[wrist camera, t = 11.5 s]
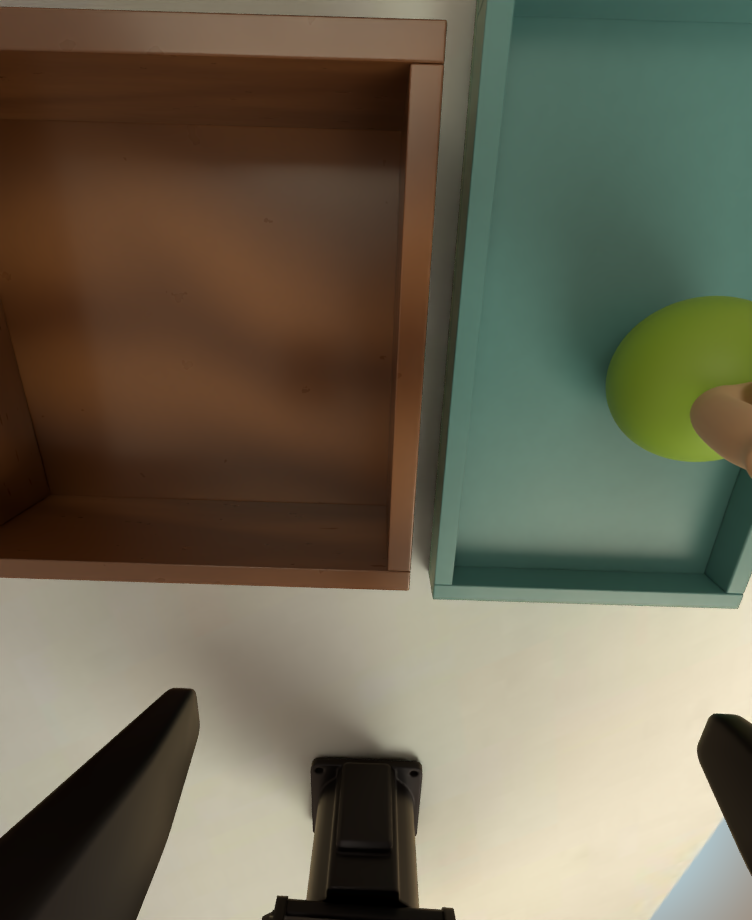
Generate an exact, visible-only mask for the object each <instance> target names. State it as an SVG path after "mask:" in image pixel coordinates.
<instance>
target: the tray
mask: <svg viewBox="0 0 752 920" xmlns="http://www.w3.org/2000/svg"><path fill="white" fill-rule="evenodd" d="M704 296H730V297H737V298H742V299H746V300H749V301H752V0H477V3H476V15H475V27H474V38H473V50H472V62H471V74H470V86H469V98H468V110H467V122H466V134H465V145H464V157H463V169H462V181H461V193H460V205H459V217H458V229H457V241H456V252H455V264H454V276H453V288H452V300H451V312H450V324H449V336H448V348H447V359H446V371H445V383H444V395H443V407H442V419H441V431H440V443H439V455H438V466H437V478H436V490H435V502H434V514H433V526H432V538H431V550H430V562H429V578H430V584H431V591H432V597H433V599H447V600H478V601H509V602H541V603H572V604H603V605H635V606H666V607H698V608H729V609H738V608H739V605H740V602H741V600H742V597H743V593H744V591H745V589H746V586H747V584H748V581H749V579H750V576H751V574H752V478H751V477H750V476H749V474H748V472H747V470H746V469H743V468H741V467H739V466H737V465H735V464H733V463H731V462H729V461H727V460H726V459H721V460H715V461H707V462H685V461H678V460H672V459H668V458H664V457H661V456H658V455H656V454H653V453H651V452H649V451H647V450H645V449H643V448H641V447H640V446H638V445H637V444H635V443H634V442H633V441H631V440H630V439H629V438H628V437H627V436H626V435H625V434H624V433H623V432H622V431H621V429H620V428H619V427H618V425H617V424H616V422H615V421H614V419H613V417H612V415H611V413H610V410H609V407H608V403H607V399H606V376H607V371H608V367H609V364H610V361H611V359H612V357H613V355H614V353H615V351H616V349H617V347H618V346H619V344H620V343H621V341H622V340H623V339H624V338H625V336H626V335H627V334H628V333H629V332H630V331H631V330H632V329H633V328H634V327H635V326H636V325H637V324H639V323H640V322H641V321H642V320H644V319H645V318H646V317H648V316H649V315H651V314H653V313H654V312H656V311H658V310H660V309H662V308H664V307H666V306H669V305H671V304H674V303H677V302H680V301H683V300H687V299H691V298H696V297H704Z"/></svg>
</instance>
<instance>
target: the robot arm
mask: <svg viewBox="0 0 752 920" xmlns="http://www.w3.org/2000/svg"><path fill="white" fill-rule="evenodd" d="M199 728H200V721H199V712H198V704H197V696H196V692H195V691H194V690H193V689H187V688H172V689H169V690H168V691H166V692H165V693H164V694H163V695H162V696H161V697H159V698H158V699H157V700H156V701H155V702H154V703H153V704H152V705H150V706H149V707H148V708H147V709H146V710H145V711H144V712H142V713H141V714H140V715H139V716H138V717H137V718H136V719H135V720H133V721H132V722H131V723H130V724H129V725H128V726H127V727H125V728H124V729H123V730H122V731H121V732H120V733H119V734H118V735H116V736H115V737H114V738H113V739H112V740H111V741H110V742H109V743H107V744H106V745H105V746H104V747H103V748H102V749H101V750H99V751H98V752H97V753H96V754H95V755H94V756H93V757H92V758H90V759H89V760H88V761H87V762H86V763H85V764H84V765H82V766H81V767H80V768H79V769H78V770H77V771H76V772H75V773H73V774H72V775H71V776H70V777H69V778H68V779H67V780H66V781H64V782H63V783H62V784H61V785H60V786H59V787H58V788H56V789H55V790H54V791H53V792H52V793H51V794H50V795H49V796H47V797H46V798H45V799H44V800H43V801H42V802H41V803H39V804H38V805H37V806H36V807H35V808H34V809H33V810H32V811H30V812H29V813H28V814H27V815H26V816H25V817H24V818H23V819H21V820H20V821H19V822H18V823H17V824H16V825H15V826H13V827H12V828H11V829H10V830H9V831H8V832H7V833H6V834H4V835H3V836H2V837H1V838H0V920H136V919H137V916H138V914H139V911H140V909H141V906H142V904H143V901H144V899H145V896H146V894H147V891H148V888H149V886H150V883H151V881H152V878H153V876H154V873H155V871H156V868H157V866H158V863H159V861H160V858H161V855H162V853H163V850H164V847H165V845H166V842H167V839H168V836H169V833H170V830H171V826H172V823H173V820H174V816H175V813H176V810H177V806H178V803H179V800H180V796H181V793H182V789H183V786H184V783H185V779H186V776H187V773H188V769H189V766H190V763H191V759H192V756H193V752H194V749H195V746H196V742H197V739H198V735H199ZM697 754H698V759H699V762H700V764H701V767H702V769H703V771H704V773H705V776H706V778H707V780H708V782H709V784H710V787H711V789H712V791H713V793H714V796H715V798H716V800H717V802H718V805H719V807H720V809H721V811H722V813H723V816H724V818H725V820H726V822H727V825H728V827H729V829H730V831H731V833H732V836H733V838H734V840H735V842H736V845H737V847H738V849H739V851H740V853H741V855H742V857H743V860H744V862H745V864H746V866H747V868H748V870H749V872H750V874H751V876H752V724H751V723H750V722H748V721H747V720H745V719H744V718H742V717H740V716H738V715H733V714H713V715H711V716H710V717H709V719H708V721H707V723H706V726H705V728H704V731H703V733H702V735H701V738H700V740H699V743H698V746H697ZM421 784H422V765H421V764H420V763H419V762H417V761H399V760H368V759H337V758H316V759H314V760H313V761H312V766H311V790H312V819H313V832H314V833H315V834H314V842H313V850H312V858H311V866H310V874H309V882H308V890H307V898H306V900H297V899H288V896H277V899H276V904H275V909H274V910H273V912H271V913H269V914H267V915H265V916H263V917H262V920H456V919H455V914H454V909H453V908H446V907H442V910H438V909H424V908H419V899H418V882H417V865H416V848H415V836H416V834H417V825H418V815H419V805H420V794H421Z"/></svg>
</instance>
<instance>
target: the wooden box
mask: <svg viewBox="0 0 752 920" xmlns="http://www.w3.org/2000/svg"><path fill="white" fill-rule="evenodd" d="M446 31H447V21H446V20H431V19H398V18H364V17H331V16H297V15H263V14H230V13H196V12H163V11H129V10H95V9H62V8H28V7H0V578H32V579H63V580H94V581H126V582H157V583H189V584H220V585H251V586H283V587H314V588H345V589H377V590H409V585H410V570H411V555H412V540H413V525H414V510H415V495H416V480H417V465H418V450H419V435H420V420H421V405H422V390H423V375H424V360H425V345H426V330H427V315H428V300H429V285H430V270H431V255H432V240H433V225H434V210H435V195H436V180H437V165H438V150H439V135H440V120H441V106H442V91H443V76H444V61H445V46H446Z"/></svg>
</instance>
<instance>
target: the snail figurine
mask: <svg viewBox="0 0 752 920" xmlns="http://www.w3.org/2000/svg"><path fill="white" fill-rule="evenodd" d="M606 399H607V403H608V407H609V410H610V413H611V415H612V417H613V419H614V421H615V422H616V424H617V425H618V427H619V428H620V429H621V431H622V432H623V433H624V434H625V435H626V436H627V437H628V438H629V439H630V440H631V441H633V442H634V443H635V444H637V445H638V446H640V447H641V448H643V449H645V450H647V451H649V452H651V453H653V454H656V455H658V456H661V457H664V458H668V459H672V460H678V461H685V462H707V461H715V460H721V459H726V460H727V461H729V462H731V463H733V464H735V465H737V466H739V467H741V468H743V469H746V470H747V472H748V474H749V476H750V477H751V478H752V301H749V300H746V299H742V298H737V297H730V296H704V297H696V298H691V299H687V300H683V301H680V302H677V303H674V304H671V305H669V306H666V307H664V308H662V309H660V310H658V311H656V312H654V313H653V314H651V315H649V316H648V317H646V318H645V319H644V320H642V321H641V322H640V323H639V324H637V325H636V326H635V327H634V328H633V329H632V330H631V331H630V332H629V333H628V334H627V335H626V336H625V338H624V339H623V340H622V341H621V343H620V344H619V346H618V347H617V349H616V351H615V353H614V355H613V357H612V359H611V361H610V364H609V367H608V371H607V376H606Z"/></svg>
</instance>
